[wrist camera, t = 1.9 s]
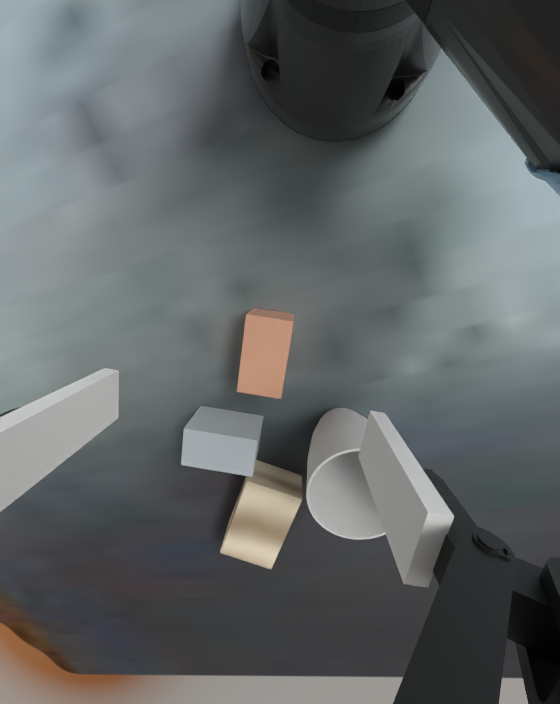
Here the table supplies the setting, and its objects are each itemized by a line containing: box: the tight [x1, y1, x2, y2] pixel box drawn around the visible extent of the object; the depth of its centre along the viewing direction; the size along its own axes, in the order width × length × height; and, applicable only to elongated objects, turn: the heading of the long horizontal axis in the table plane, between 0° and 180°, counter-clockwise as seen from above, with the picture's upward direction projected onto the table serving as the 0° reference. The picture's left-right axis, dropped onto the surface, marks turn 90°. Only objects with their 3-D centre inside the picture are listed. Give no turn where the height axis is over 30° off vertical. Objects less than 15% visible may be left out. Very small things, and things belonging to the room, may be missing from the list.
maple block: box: [220, 460, 302, 569], centre depth 33 cm, size 10×6×4 cm, turn 161°
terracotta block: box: [237, 308, 294, 399], centre depth 27 cm, size 7×4×5 cm, turn 171°
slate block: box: [181, 406, 263, 477], centre depth 30 cm, size 7×4×5 cm, turn 81°
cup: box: [306, 408, 386, 539], centre depth 27 cm, size 8×8×10 cm
